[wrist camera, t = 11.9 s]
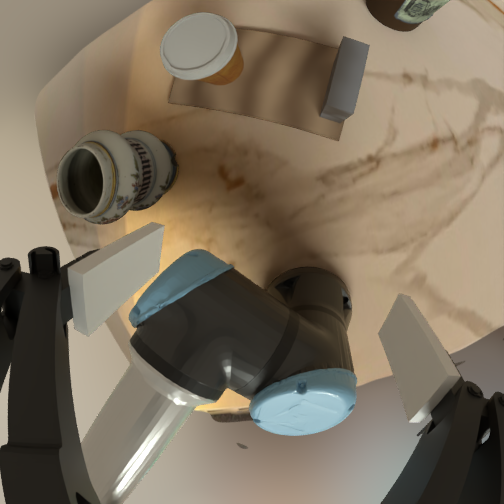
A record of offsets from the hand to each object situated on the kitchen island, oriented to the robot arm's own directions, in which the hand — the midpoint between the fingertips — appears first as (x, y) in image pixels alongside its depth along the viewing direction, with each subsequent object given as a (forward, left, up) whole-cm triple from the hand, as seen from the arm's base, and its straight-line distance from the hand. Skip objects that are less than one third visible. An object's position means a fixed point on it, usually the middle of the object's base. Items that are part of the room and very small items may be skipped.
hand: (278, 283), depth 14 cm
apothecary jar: (+23, +1, -28) cm, 36 cm away
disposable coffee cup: (+15, -17, -28) cm, 36 cm away
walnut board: (+9, -17, -28) cm, 34 cm away
